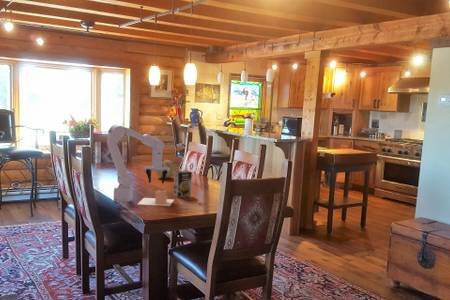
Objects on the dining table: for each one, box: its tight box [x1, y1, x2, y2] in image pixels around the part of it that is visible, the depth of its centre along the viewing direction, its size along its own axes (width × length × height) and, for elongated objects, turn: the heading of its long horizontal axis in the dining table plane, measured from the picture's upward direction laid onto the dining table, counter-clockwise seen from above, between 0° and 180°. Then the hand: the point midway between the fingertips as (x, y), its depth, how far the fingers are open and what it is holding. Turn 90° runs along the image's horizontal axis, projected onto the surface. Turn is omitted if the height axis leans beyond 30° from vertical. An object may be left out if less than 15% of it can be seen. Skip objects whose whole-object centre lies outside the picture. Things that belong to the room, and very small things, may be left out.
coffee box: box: [172, 170, 192, 198], centre depth 263 cm, size 9×6×16 cm
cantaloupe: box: [155, 159, 176, 179], centre depth 328 cm, size 15×15×15 cm
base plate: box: [137, 197, 175, 207], centre depth 243 cm, size 18×17×1 cm
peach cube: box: [154, 189, 168, 204], centre depth 241 cm, size 6×6×6 cm
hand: (156, 182), depth 251 cm, fingers open, 7 cm apart
